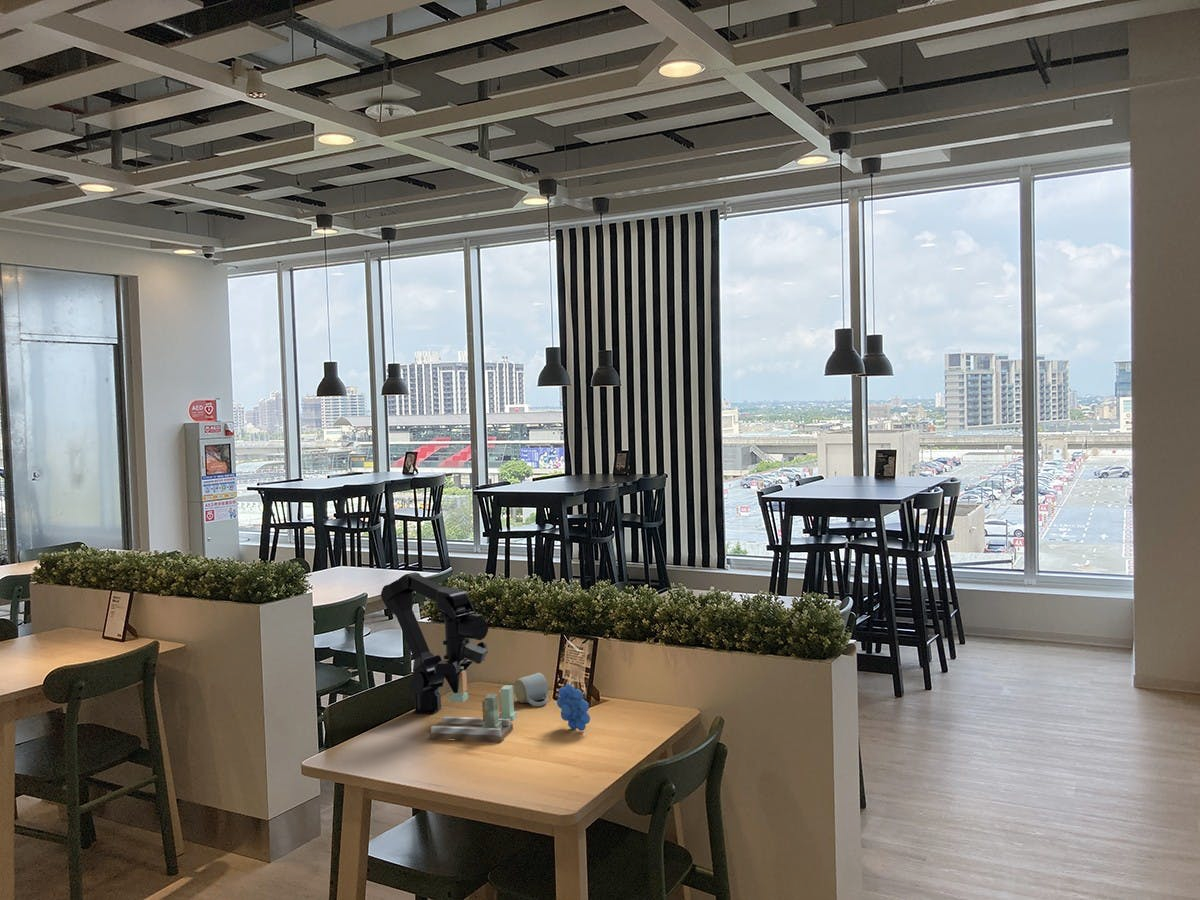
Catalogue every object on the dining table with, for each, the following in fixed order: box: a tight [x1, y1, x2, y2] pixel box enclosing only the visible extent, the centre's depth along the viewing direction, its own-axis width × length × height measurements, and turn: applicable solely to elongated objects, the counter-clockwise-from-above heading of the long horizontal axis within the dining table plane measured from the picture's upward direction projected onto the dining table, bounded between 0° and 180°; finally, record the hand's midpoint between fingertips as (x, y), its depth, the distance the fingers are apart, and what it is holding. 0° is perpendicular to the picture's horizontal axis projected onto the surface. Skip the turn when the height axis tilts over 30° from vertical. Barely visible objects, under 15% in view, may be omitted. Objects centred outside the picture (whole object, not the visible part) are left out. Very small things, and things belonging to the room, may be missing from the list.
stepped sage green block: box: [448, 666, 469, 703], centre depth 270 cm, size 4×4×9 cm
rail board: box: [428, 693, 514, 743], centre depth 257 cm, size 20×10×10 cm, turn 77°
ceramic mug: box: [513, 672, 549, 707], centre depth 283 cm, size 11×8×8 cm
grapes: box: [556, 683, 591, 732], centre depth 257 cm, size 12×7×12 cm, turn 46°
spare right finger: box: [497, 684, 518, 722], centre depth 268 cm, size 4×4×9 cm
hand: (458, 690), depth 270 cm, fingers closed on stepped sage green block, 4 cm apart
